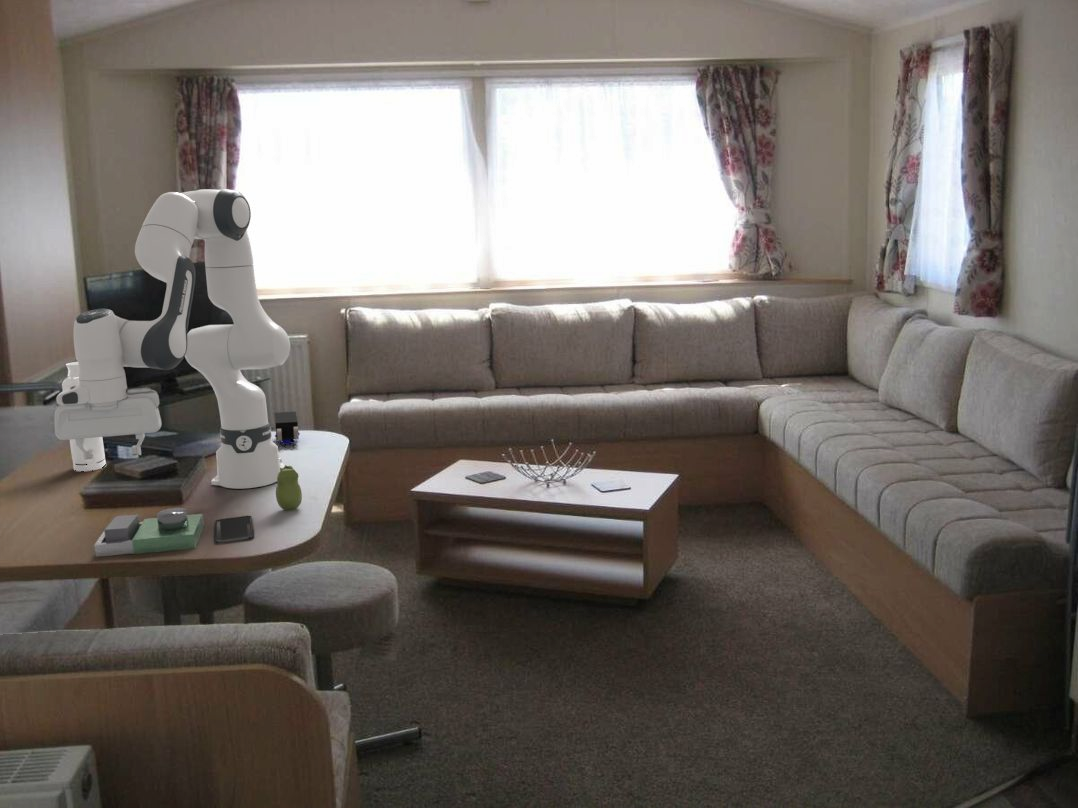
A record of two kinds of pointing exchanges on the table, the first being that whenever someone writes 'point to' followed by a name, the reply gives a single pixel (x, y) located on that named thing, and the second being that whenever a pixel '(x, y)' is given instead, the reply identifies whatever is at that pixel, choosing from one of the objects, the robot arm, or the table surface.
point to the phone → (234, 529)
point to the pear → (288, 489)
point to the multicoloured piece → (157, 534)
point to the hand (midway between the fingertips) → (113, 456)
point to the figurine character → (286, 427)
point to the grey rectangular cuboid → (122, 528)
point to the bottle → (90, 443)
